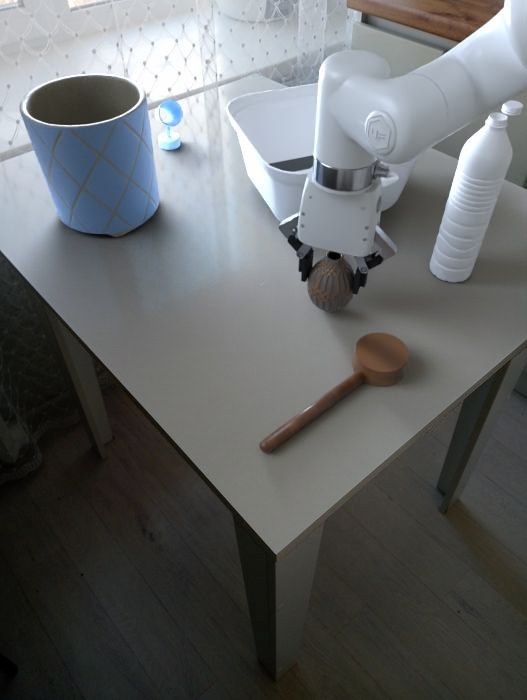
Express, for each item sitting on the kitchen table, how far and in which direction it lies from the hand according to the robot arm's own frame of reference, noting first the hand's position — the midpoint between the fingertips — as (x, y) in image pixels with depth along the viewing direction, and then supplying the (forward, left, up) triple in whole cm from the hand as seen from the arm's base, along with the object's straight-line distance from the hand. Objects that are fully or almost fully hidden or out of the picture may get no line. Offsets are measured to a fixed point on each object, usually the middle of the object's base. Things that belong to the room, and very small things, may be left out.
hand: (331, 281), depth 79 cm
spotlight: (+45, -35, -5) cm, 57 cm away
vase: (0, 0, -4) cm, 4 cm away
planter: (+44, -10, -5) cm, 45 cm away
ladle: (-6, +16, -5) cm, 18 cm away
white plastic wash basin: (+10, -27, -5) cm, 29 cm away
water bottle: (-16, -16, -5) cm, 23 cm away
